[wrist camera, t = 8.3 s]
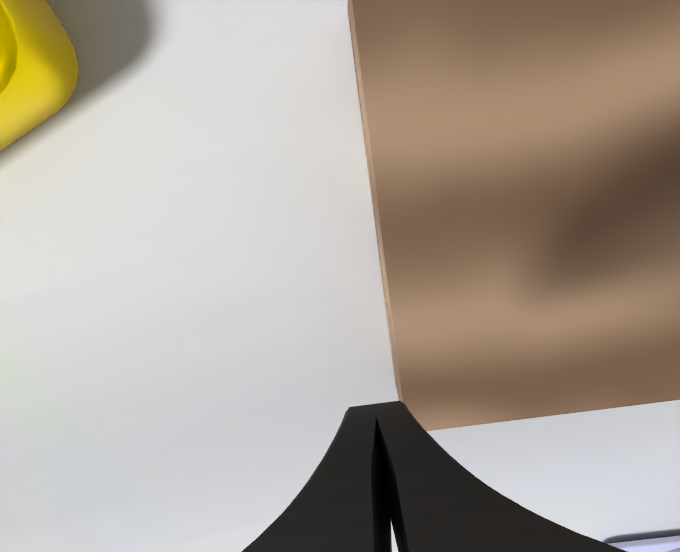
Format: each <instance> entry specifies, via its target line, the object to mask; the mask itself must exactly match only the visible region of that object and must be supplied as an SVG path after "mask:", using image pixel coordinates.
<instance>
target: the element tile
mask: <svg viewBox="0 0 680 552" xmlns="http://www.w3.org/2000/svg"><path fill="white" fill-rule="evenodd" d="M78 73H79V65H78V61H77V57H76V53H75V49H74V46H73V44H72V42H71V40H70V38H69V36H68V34H67V32H66V30H65V28H64V27H63V25H62V24H61V22H60V21H59V19H58V18H57V16H56V15H55V13H54V12H53V10H52V9H51V7H50V6H49V4H48V3H47V1H46V0H0V151H1V150H3V149H4V148H6V147H7V146H9V145H10V144H12V143H13V142H14V141H16V140H17V139H19V138H20V137H22V136H23V135H25V134H26V133H28V132H29V131H31V130H32V129H33V128H35V127H36V126H38V125H39V124H41V123H42V122H44V121H45V120H47V119H48V118H49V117H51V116H52V115H54V114H55V113H57V112H58V111H59V110H60V109H61V108H62V107H63V106H64V105H65V104H66V103H67V102H68V101H69V99H70V97H71V95H72V94H73V92H74V90H75V88H76V87H77V81H78Z"/></svg>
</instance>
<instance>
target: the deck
mask: <svg viewBox="0 0 680 552" xmlns="http://www.w3.org/2000/svg"><path fill="white" fill-rule="evenodd" d="M348 17H349V24H350V32H351V40H352V48H353V56H354V63H355V71H356V79H357V87H358V94H359V102H360V110H361V118H362V126H363V133H364V141H365V149H366V157H367V164H368V172H369V180H370V188H371V196H372V203H373V211H374V219H375V227H376V234H377V242H378V250H379V258H380V265H381V273H382V281H383V289H384V297H385V304H386V312H387V320H388V328H389V335H390V343H391V351H392V359H393V367H394V374H395V382H396V388H397V392H398V397H399V401H401V402H403V403H404V404H405V405H406V406H407V408H408V409H409V411H410V412H411V414H412V415H413V416H414V418H415V419H416V420H417V421H418V422H419V424H420V425H421V426H422V427H423V428H424V430H425V431H431V430H439V429H447V428H455V427H463V426H471V425H479V424H487V423H495V422H503V421H511V420H519V419H527V418H535V417H543V416H552V415H560V414H568V413H576V412H584V411H592V410H600V409H608V408H616V407H624V406H632V405H640V404H648V403H656V402H664V401H672V400H680V0H348Z"/></svg>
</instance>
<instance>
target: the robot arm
mask: <svg viewBox="0 0 680 552" xmlns="http://www.w3.org/2000/svg"><path fill="white" fill-rule="evenodd" d="M391 522H392V526H393V530H394V534H395V539H396V543H397V547H398V551H399V552H680V536H672V537H663V538H654V539H645V540H636V541H627V542H618V543H609V544H606V543H603V542H600V541H598V540H595V539H592V538H589V537H587V536H584V535H581V534H579V533H576V532H574V531H572V530H569V529H567V528H565V527H563V526H561V525H558V524H556V523H554V522H552V521H550V520H548V519H545V518H543V517H541V516H539V515H537V514H535V513H534V512H532V511H530V510H528V509H526V508H524V507H522V506H520V505H519V504H517V503H515V502H514V501H512V500H510V499H508V498H507V497H505V496H503V495H501V494H500V493H498V492H497V491H495V490H494V489H492V488H491V487H489V486H488V485H486V484H485V483H483V482H482V481H481V480H479V479H478V478H476V477H475V476H474V475H473V474H471V473H470V472H469V471H468V470H466V469H465V468H464V467H463V466H461V465H460V464H459V463H458V462H457V461H456V460H455V459H454V458H452V457H451V456H450V455H449V454H448V453H447V452H446V451H445V450H444V449H443V448H442V447H441V446H440V445H439V444H438V443H437V442H436V441H435V440H434V439H433V438H432V437H431V436H430V435H429V434H428V433H427V432H426V431H425V430H424V428H423V427H422V426H421V425H420V424H419V422H418V421H417V420H416V419H415V418H414V416H413V415H412V414H411V412H410V411H409V409H408V408H407V406H406V405H405V404H404V403H403V402H401V401H394V402H386V403H378V404H371V405H363V406H355V407H349V409H348V410H347V411H346V413H345V416H344V418H343V421H342V423H341V425H340V427H339V430H338V432H337V434H336V436H335V438H334V440H333V441H332V443H331V445H330V447H329V449H328V450H327V452H326V454H325V456H324V457H323V459H322V461H321V462H320V464H319V465H318V467H317V468H316V470H315V471H314V473H313V474H312V476H311V477H310V479H309V480H308V482H307V483H306V485H305V486H304V487H303V489H302V490H301V491H300V493H299V494H298V495H297V496H296V498H295V499H294V500H293V501H292V503H291V504H290V505H289V506H288V507H287V509H286V510H285V511H284V512H283V513H282V514H281V515H280V516H279V517H278V518H277V519H276V520H275V521H274V522H273V523H272V524H271V525H270V526H269V527H268V528H267V529H266V530H265V531H264V532H263V533H262V534H261V535H260V536H259V537H258V538H257V539H256V540H255V541H253V542H252V543H251V544H250V545H249V546H248V547H246V548H245V549H244V550H243V551H242V552H392V546H391Z"/></svg>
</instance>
